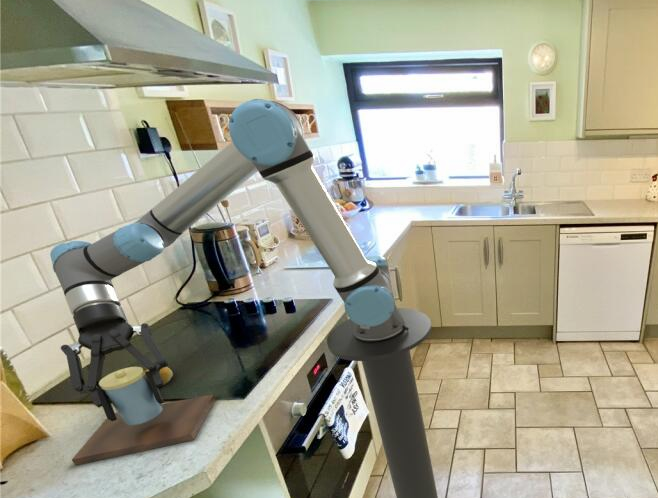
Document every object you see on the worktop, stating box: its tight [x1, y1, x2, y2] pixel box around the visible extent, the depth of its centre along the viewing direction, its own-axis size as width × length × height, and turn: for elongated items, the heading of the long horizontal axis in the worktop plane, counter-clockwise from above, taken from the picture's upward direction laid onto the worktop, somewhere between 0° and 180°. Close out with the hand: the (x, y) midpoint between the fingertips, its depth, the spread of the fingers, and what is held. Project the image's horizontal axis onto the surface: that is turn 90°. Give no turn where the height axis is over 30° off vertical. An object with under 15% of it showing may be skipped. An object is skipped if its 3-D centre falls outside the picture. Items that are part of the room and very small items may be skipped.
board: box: [71, 393, 217, 466], centre depth 88 cm, size 20×14×2 cm
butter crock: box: [99, 366, 163, 426], centre depth 84 cm, size 7×7×11 cm
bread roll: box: [144, 366, 174, 386], centre depth 103 cm, size 8×9×4 cm
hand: (136, 409), depth 82 cm, fingers closed on butter crock, 7 cm apart
